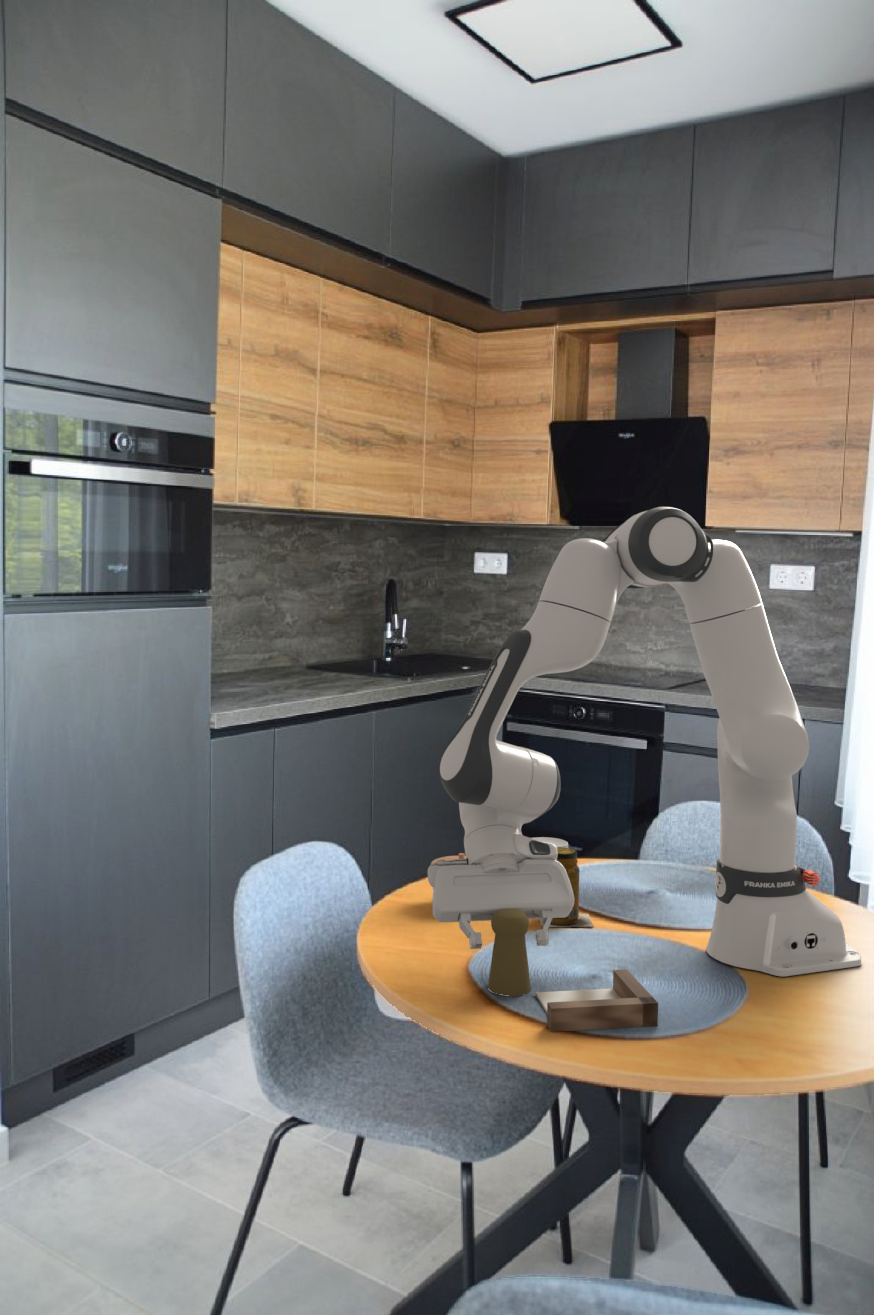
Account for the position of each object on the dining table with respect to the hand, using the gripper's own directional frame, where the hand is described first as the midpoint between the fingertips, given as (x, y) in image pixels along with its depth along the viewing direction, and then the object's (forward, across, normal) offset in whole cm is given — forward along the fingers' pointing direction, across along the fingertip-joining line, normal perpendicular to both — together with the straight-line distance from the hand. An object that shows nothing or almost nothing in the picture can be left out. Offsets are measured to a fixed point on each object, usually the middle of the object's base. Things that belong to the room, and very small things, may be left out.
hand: (509, 945), depth 148 cm
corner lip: (+11, +9, -2) cm, 14 cm away
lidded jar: (-23, 0, +32) cm, 39 cm away
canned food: (-23, +15, +32) cm, 42 cm away
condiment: (-16, +16, +25) cm, 33 cm away
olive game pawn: (+4, 0, +5) cm, 6 cm away
